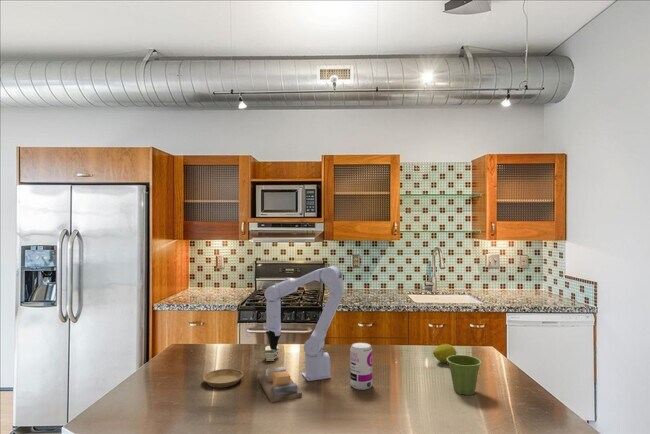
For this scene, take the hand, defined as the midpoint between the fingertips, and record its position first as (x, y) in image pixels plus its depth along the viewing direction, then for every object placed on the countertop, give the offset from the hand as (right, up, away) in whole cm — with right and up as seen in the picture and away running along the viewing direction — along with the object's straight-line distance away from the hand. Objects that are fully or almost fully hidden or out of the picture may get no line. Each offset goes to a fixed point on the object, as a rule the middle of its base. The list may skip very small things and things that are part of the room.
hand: (273, 349), depth 163 cm
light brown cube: (+5, -8, -19) cm, 22 cm away
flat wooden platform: (+4, -9, -16) cm, 19 cm away
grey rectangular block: (+2, -7, -12) cm, 14 cm away
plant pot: (+71, -9, -18) cm, 74 cm away
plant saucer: (-18, -10, -9) cm, 22 cm away
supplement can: (+34, -9, -13) cm, 38 cm away
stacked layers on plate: (-3, -10, +16) cm, 19 cm away
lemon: (+73, -10, +12) cm, 74 cm away
